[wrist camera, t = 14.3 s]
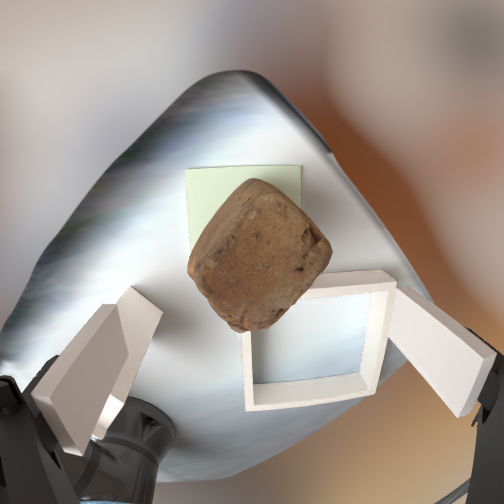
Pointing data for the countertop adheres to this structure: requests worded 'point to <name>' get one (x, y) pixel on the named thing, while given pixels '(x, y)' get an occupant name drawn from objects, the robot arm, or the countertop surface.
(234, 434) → the countertop surface
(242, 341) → the holder
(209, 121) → the countertop surface
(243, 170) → the mat
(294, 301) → the brown rough stone
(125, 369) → the milk
